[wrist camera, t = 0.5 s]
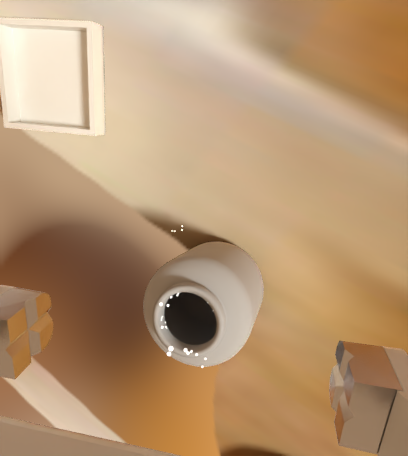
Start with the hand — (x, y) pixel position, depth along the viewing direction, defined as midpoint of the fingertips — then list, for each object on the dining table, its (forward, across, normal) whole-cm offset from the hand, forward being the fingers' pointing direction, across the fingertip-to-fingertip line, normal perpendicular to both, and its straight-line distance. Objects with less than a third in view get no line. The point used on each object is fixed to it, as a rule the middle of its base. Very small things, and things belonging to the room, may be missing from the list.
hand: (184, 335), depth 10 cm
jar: (+46, +5, +20) cm, 50 cm away
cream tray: (+46, +31, -8) cm, 56 cm away
